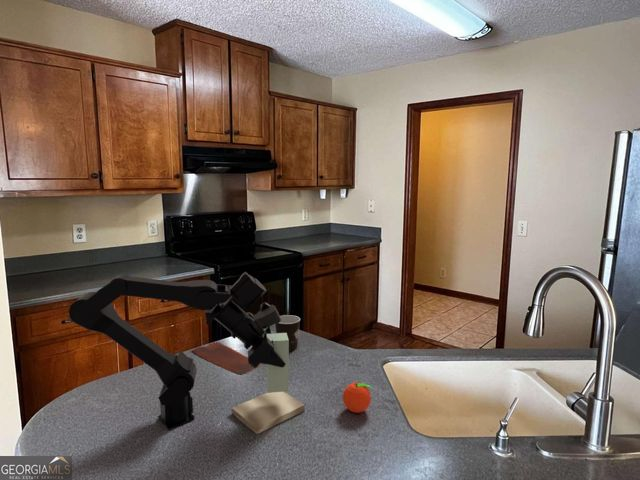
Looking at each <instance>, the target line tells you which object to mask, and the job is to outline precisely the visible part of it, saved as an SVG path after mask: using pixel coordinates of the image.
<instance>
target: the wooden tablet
mask: <svg viewBox="0 0 640 480" xmlns="http://www.w3.org/2000/svg"><path fill="white" fill-rule="evenodd" d="M215 342H216V343H215ZM211 343H212V344H211ZM193 349H194V350H193ZM193 349H191V351H192V352H193V353H194V354H195V355H197V356H198V357H200V358H202V359H204V360H206V361H208V362H210V363H213V364H214V365H216V366H218V367H220V368H223V369H225V370H228V371H230V372H232V373H235V374H237V375H244V374H247V373H250V372H253V370H256V369H258V368H260V365H261V364H259V365H258V366H257V367H256V368H254V367H252V366H251V365H250V364H249V363H248V356H246V355H244V354H243V353H240V352H239V351H238V350H235V349H233V348H232V347H229V346H228V345H225V344H223V343H221V342H218V341H213V342H209V344H208V345H206V346H198V347H195V348H193Z"/></svg>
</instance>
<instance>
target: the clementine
mask: <svg viewBox="0 0 640 480" xmlns="http://www.w3.org/2000/svg"><path fill="white" fill-rule="evenodd" d="M368 387H369V388H368ZM370 388H371V389H372V390H374V388H373V387H372V386H371V385H368V384H367V383H362V382H352V383H350V384H348V385H347V386H346V387H345V389H344V391H343V394H342V400H343V404H344V405H345V407H346V409H347V410H348V411H350V412H353V413H355V414H357V413H362V412H365V411H366V410H367V409H368V408H369V406H370V405H371V400H372V397H371V392H370V390H369V389H370ZM373 392H374V393H376V392H375V391H373Z"/></svg>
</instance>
